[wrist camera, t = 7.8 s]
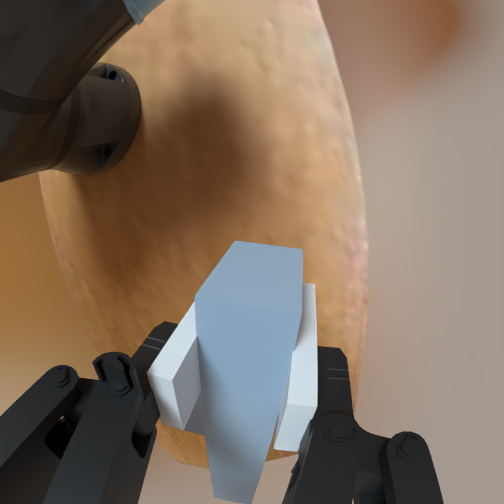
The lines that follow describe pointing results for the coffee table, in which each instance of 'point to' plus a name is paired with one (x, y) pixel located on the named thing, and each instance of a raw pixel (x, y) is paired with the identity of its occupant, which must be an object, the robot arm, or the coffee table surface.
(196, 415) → the mat
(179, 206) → the coffee table surface
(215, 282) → the stick
